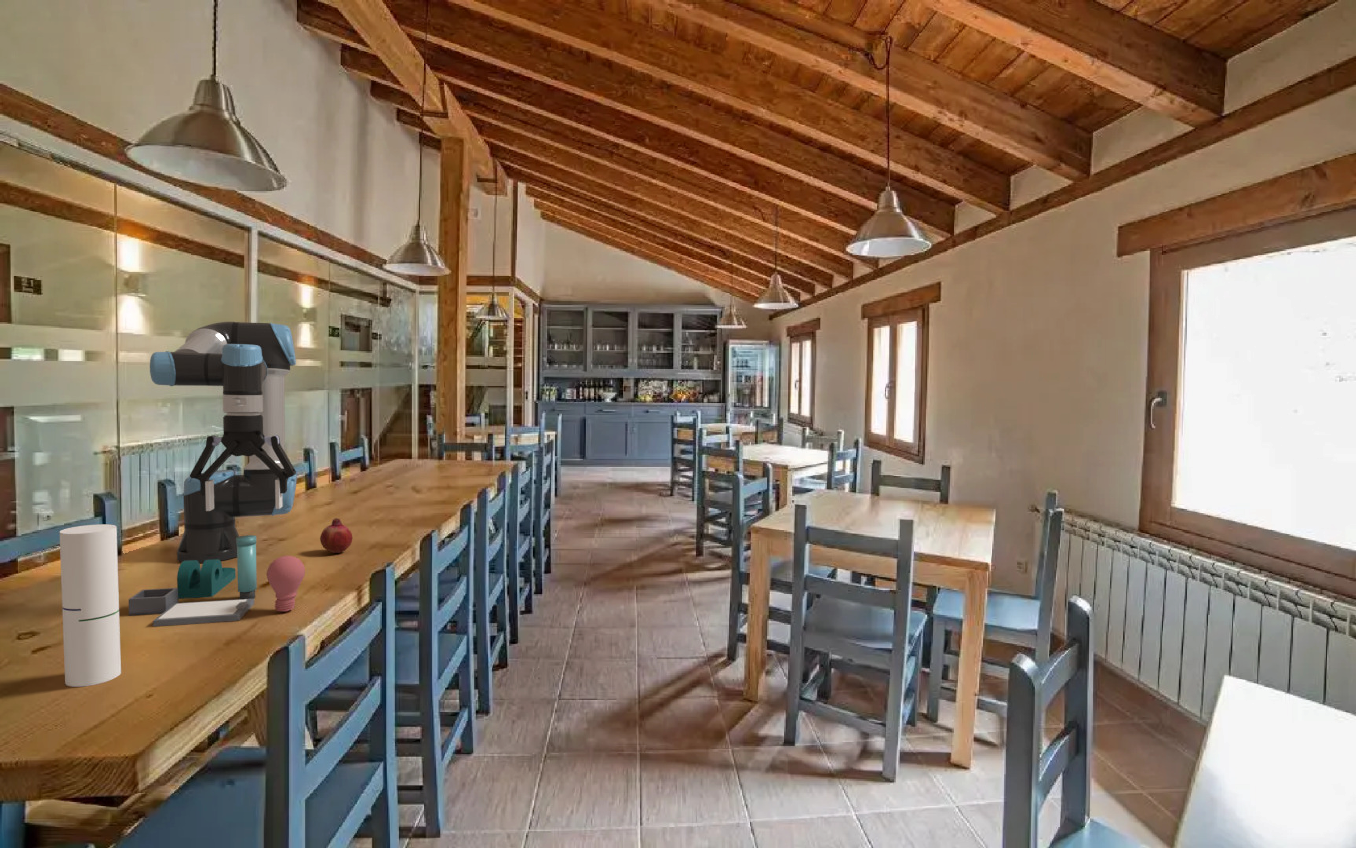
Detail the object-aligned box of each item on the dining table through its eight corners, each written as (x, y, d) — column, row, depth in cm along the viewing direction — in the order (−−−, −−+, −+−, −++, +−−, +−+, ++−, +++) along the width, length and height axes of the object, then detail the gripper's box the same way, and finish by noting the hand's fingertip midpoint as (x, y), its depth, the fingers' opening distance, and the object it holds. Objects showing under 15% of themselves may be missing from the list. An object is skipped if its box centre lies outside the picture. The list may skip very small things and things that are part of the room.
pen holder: (143, 605, 152) (142, 589, 152) (178, 603, 154) (178, 587, 154) (128, 615, 146) (128, 599, 145) (166, 613, 148) (165, 597, 147)
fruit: (347, 548, 205) (346, 514, 204) (356, 553, 199) (356, 519, 198) (317, 552, 199) (316, 517, 199) (325, 558, 193) (325, 522, 193)
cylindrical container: (86, 668, 120) (81, 524, 118) (131, 668, 120) (126, 524, 119) (53, 687, 113) (47, 533, 111) (100, 686, 113) (95, 534, 112)
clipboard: (175, 608, 150) (174, 600, 150) (254, 603, 155) (254, 595, 155) (153, 626, 140) (152, 617, 140) (238, 620, 144) (238, 612, 144)
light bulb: (313, 608, 153) (312, 554, 152) (285, 618, 146) (284, 562, 145) (288, 604, 155) (287, 550, 154) (259, 614, 148) (258, 558, 147)
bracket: (211, 597, 159) (211, 563, 158) (177, 599, 157) (176, 565, 157) (239, 575, 176) (239, 544, 176) (209, 577, 174) (208, 545, 174)
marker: (240, 596, 160) (239, 535, 159) (259, 595, 161) (258, 535, 160) (235, 601, 156) (234, 539, 155) (254, 600, 157) (253, 538, 156)
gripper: (170, 414, 148) (173, 514, 150) (301, 415, 155) (303, 510, 157) (184, 412, 155) (186, 507, 157) (309, 413, 163) (310, 504, 164)
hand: (245, 509), depth 157 cm, fingers open, 13 cm apart
